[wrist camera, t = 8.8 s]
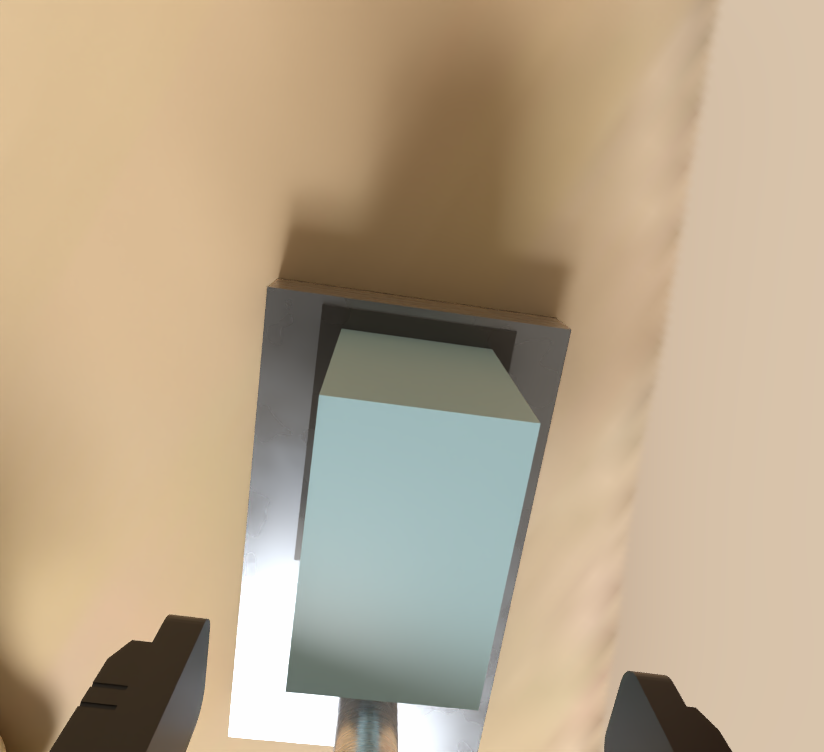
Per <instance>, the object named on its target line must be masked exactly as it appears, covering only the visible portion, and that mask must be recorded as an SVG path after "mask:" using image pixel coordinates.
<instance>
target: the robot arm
mask: <svg viewBox="0 0 824 752" xmlns="http://www.w3.org/2000/svg"><path fill="white" fill-rule="evenodd" d="M209 633H210V621H209V619H203V618H195V617H186V616H178V615H168V616H167V617H166V619H165V620H164V622H163V624H162V626H161V627H160V629H159V631H158V633H157V635H156V637H155V638H154V640H153V642H143V641H135V640H132V641H130V642H129V643H128V644H126V645H125V646H124V647H122V648H121V649H120V650H119V651H117V652H116V653H115V654H113V655H112V656H111V657H109V658H108V659H107V661H106V662H105V664H104V666H103V667H102V669H101V670H100V672H99V674H98V675H97V677H96V678H95V680H94V681H93V685H92V687H90V688H89V689H88V691H87V693H86V694H85V696H84V697H83V699H82V701H81V704H80V706H79V707H77V708H76V710H75V712H74V713H73V715H72V716H71V718H70V720H69V721H68V723H67V724H66V726H65V727H64V729H63V731H62V732H61V734H60V735H59V737H58V739H57V740H56V742H55V743H54V745H53V747H52V748H51V750H50V751H49V752H186V749H187V747H188V744H189V741H190V739H191V736H192V734H193V731H194V728H195V726H196V723H197V720H198V717H199V713H200V709H201V705H202V700H203V695H204V688H205V678H206V667H207V655H208V644H209ZM604 752H732V751H731V749H730V748H729V746H728V744H727V743H726V741H725V739H724V738H723V736H722V735H721V733H720V731H719V730H718V729H717V728H716V727H715V726H714V725H713V724H712V723H711V722H710V721H709V720H708V719H707V718H706V717H705V716H704V715H703V714H702V713H700V711H698V710H697V709H696V708H694V707H687V706H686V705H685V703H684V702H683V699H682V698H681V696H680V694H679V692H678V691H677V689H676V687H675V686H674V684H673V682H672V681H671V679H670V678H669V677H668V676H665V675H658V674H650V673H641V672H633V671H627V672H626V673H625V674H624V675H623V678H622V680H621V683H620V687H619V690H618V693H617V697H616V700H615V704H614V707H613V711H612V714H611V717H610V721H609V724H608V728H607V731H606V735H605V744H604Z"/></svg>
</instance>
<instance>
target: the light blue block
mask: <svg viewBox="0 0 824 752" xmlns="http://www.w3.org/2000/svg"><path fill="white" fill-rule="evenodd" d="M540 424H541V423H540V422H539V420H538V419H537V417H536V416H535V414H534V413H533V411H532V410H531V408H530V407H529V405H528V403H527V402H526V400H525V399H524V397H523V396H522V394H521V393H520V391H519V390H518V388H517V387H516V385H515V383H514V382H513V380H512V379H511V377H510V376H509V374H508V373H507V371H506V370H505V368H504V367H503V365H502V363H501V362H500V360H499V359H498V357H497V356H496V354H495V353H494V351H493V350H492V349H486V348H479V347H472V346H464V345H457V344H450V343H443V342H436V341H428V340H421V339H414V338H407V337H399V336H392V335H385V334H378V333H370V332H363V331H356V330H349V329H341V332H340V335H339V338H338V341H337V344H336V347H335V349H334V352H333V355H332V358H331V361H330V364H329V367H328V370H327V373H326V376H325V379H324V382H323V385H322V388H321V391H320V394H319V400H318V409H317V418H316V426H315V435H314V444H313V452H312V461H311V470H310V479H309V487H308V496H307V505H306V514H305V522H304V531H303V540H302V549H301V557H300V566H299V575H298V583H297V592H296V601H295V610H294V618H293V627H292V636H291V645H290V653H289V662H288V671H287V679H286V688H285V692H288V693H299V694H310V695H320V696H331V697H341V698H352V699H362V700H373V701H383V702H394V703H404V704H415V705H426V706H436V707H447V708H457V709H468V710H479V705H480V700H481V696H482V691H483V687H484V682H485V677H486V673H487V668H488V664H489V659H490V654H491V650H492V645H493V641H494V636H495V631H496V627H497V622H498V618H499V613H500V608H501V604H502V599H503V594H504V590H505V585H506V581H507V576H508V571H509V567H510V562H511V558H512V553H513V548H514V544H515V539H516V535H517V530H518V525H519V521H520V516H521V512H522V507H523V502H524V498H525V493H526V489H527V484H528V479H529V475H530V470H531V466H532V461H533V456H534V452H535V447H536V443H537V438H538V433H539V429H540Z"/></svg>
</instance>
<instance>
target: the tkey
mask: <svg viewBox="0 0 824 752" xmlns="http://www.w3.org/2000/svg"><path fill="white" fill-rule="evenodd" d="M333 752H398V703H394V702H383V701H373V700H362V699H352V698H341V697H338V707H337V717H336V727H335V737H334V747H333Z"/></svg>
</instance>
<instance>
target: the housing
mask: <svg viewBox="0 0 824 752" xmlns="http://www.w3.org/2000/svg"><path fill="white" fill-rule="evenodd" d="M341 329H349V330H356V331H363V332H370V333H378V334H385V335H392V336H399V337H407V338H414V339H421V340H428V341H436V342H443V343H450V344H457V345H464V346H472V347H479V348H486V349H492V350H493V351H494V353H495V354H496V356H497V357H498V359H499V360H500V362H501V363H502V365H503V367H504V368H505V370H506V371H507V373H508V374H509V376H510V377H511V379H512V380H513V382H514V383H515V385H516V387H517V388H518V390H519V391H520V393H521V394H522V396H523V397H524V399H525V400H526V402H527V403H528V405H529V407H530V408H531V410H532V411H533V413H534V414H535V416H536V417H537V419H538V420H539V422H540V423H541V424H540V429H539V433H538V438H537V443H536V447H535V452H534V456H533V461H532V466H531V470H530V475H529V479H528V484H527V489H526V493H525V498H524V502H523V507H522V512H521V516H520V521H519V525H518V530H517V535H516V539H515V544H514V548H513V553H512V558H511V562H510V567H509V571H508V576H507V581H506V585H505V590H504V594H503V599H502V604H501V608H500V613H499V618H498V622H497V627H496V631H495V636H494V641H493V645H492V650H491V654H490V659H489V664H488V668H487V673H486V677H485V682H484V687H483V691H482V696H481V700H480V705H479V710H468V709H457V708H447V707H436V706H426V705H415V704H404V703H398V752H478V748H479V744H480V739H481V735H482V730H483V726H484V721H485V717H486V712H487V708H488V703H489V699H490V694H491V690H492V685H493V681H494V676H495V672H496V667H497V663H498V658H499V654H500V649H501V645H502V640H503V636H504V631H505V627H506V622H507V618H508V613H509V609H510V604H511V599H512V595H513V590H514V586H515V581H516V577H517V572H518V568H519V563H520V559H521V554H522V550H523V545H524V541H525V536H526V532H527V527H528V523H529V518H530V514H531V509H532V505H533V500H534V496H535V491H536V487H537V482H538V478H539V473H540V469H541V464H542V460H543V455H544V451H545V446H546V442H547V437H548V433H549V428H550V424H551V419H552V414H553V410H554V405H555V401H556V396H557V392H558V387H559V383H560V378H561V374H562V369H563V365H564V360H565V356H566V351H567V347H568V342H569V338H570V333H571V329H570V328H568V327H567V326H566V325H564V324H563V323H562V322H561V321H559V320H558V319H557V318H552V317H545V316H538V315H531V314H524V313H517V312H510V311H503V310H496V309H489V308H482V307H475V306H468V305H461V304H454V303H447V302H440V301H433V300H426V299H419V298H412V297H405V296H398V295H391V294H384V293H377V292H370V291H363V290H356V289H349V288H342V287H335V286H328V285H321V284H314V283H307V282H300V281H293V280H286V279H279V278H278V279H276V280H275V281H274V282H273V283H271V284H270V285H269V286H268V287H267V297H266V309H265V320H264V332H263V343H262V355H261V366H260V378H259V389H258V401H257V412H256V424H255V435H254V447H253V458H252V470H251V481H250V493H249V504H248V516H247V527H246V539H245V550H244V562H243V573H242V585H241V596H240V608H239V619H238V631H237V642H236V654H235V665H234V677H233V688H232V700H231V711H230V723H229V734H228V737H238V738H249V739H260V740H272V741H283V742H294V743H305V744H316V745H328V746H334V737H335V727H336V717H337V707H338V697H331V696H320V695H310V694H299V693H288V692H285V688H286V679H287V671H288V662H289V653H290V645H291V636H292V627H293V618H294V610H295V601H296V592H297V583H298V575H299V566H300V557H301V549H302V540H303V531H304V522H305V514H306V505H307V496H308V487H309V479H310V470H311V461H312V452H313V444H314V435H315V426H316V418H317V409H318V400H319V394H320V391H321V388H322V385H323V382H324V379H325V376H326V373H327V370H328V367H329V364H330V361H331V358H332V355H333V352H334V349H335V347H336V344H337V341H338V338H339V335H340V332H341Z"/></svg>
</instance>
